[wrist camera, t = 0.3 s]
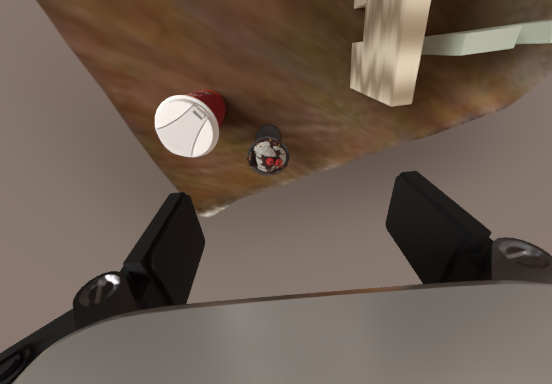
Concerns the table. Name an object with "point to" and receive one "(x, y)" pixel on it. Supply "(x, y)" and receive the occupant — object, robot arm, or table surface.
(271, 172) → the sundae
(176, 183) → the table surface
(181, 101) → the coffee cup
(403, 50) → the maple plate
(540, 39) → the sage board
